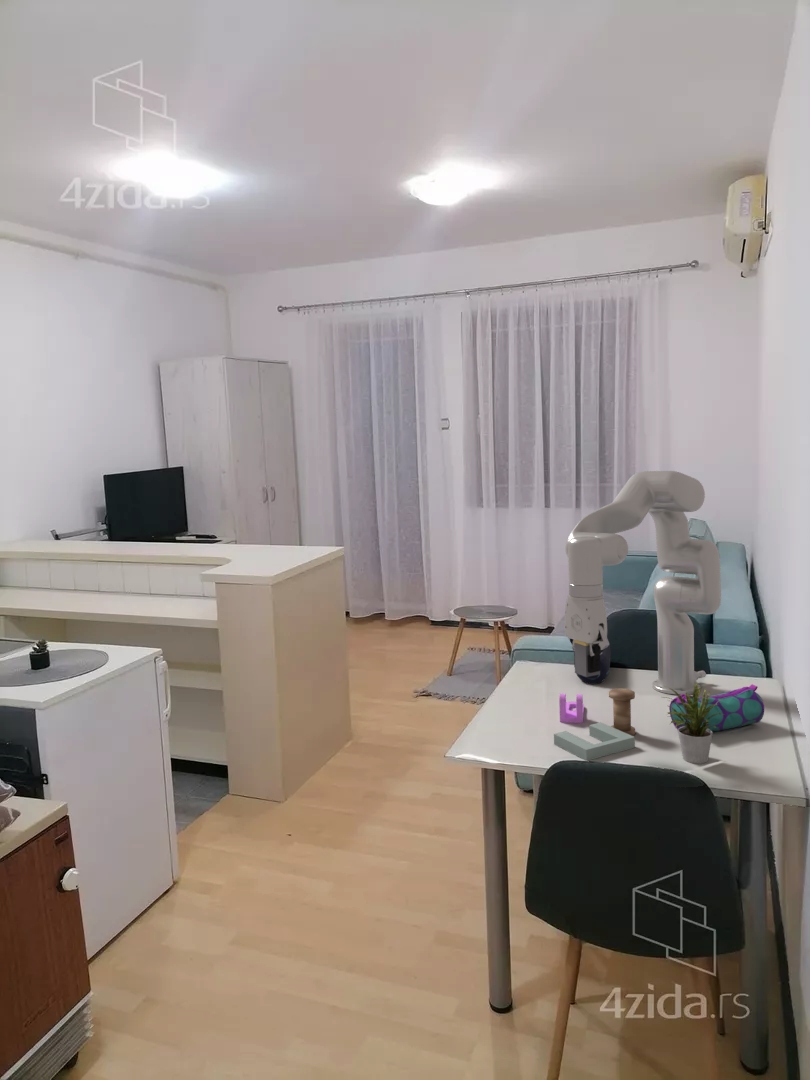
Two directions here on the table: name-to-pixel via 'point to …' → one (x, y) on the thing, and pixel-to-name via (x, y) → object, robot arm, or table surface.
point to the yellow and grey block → (582, 659)
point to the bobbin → (622, 710)
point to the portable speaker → (603, 668)
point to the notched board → (587, 751)
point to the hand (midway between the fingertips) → (587, 668)
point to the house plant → (694, 727)
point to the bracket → (571, 715)
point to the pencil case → (727, 708)
